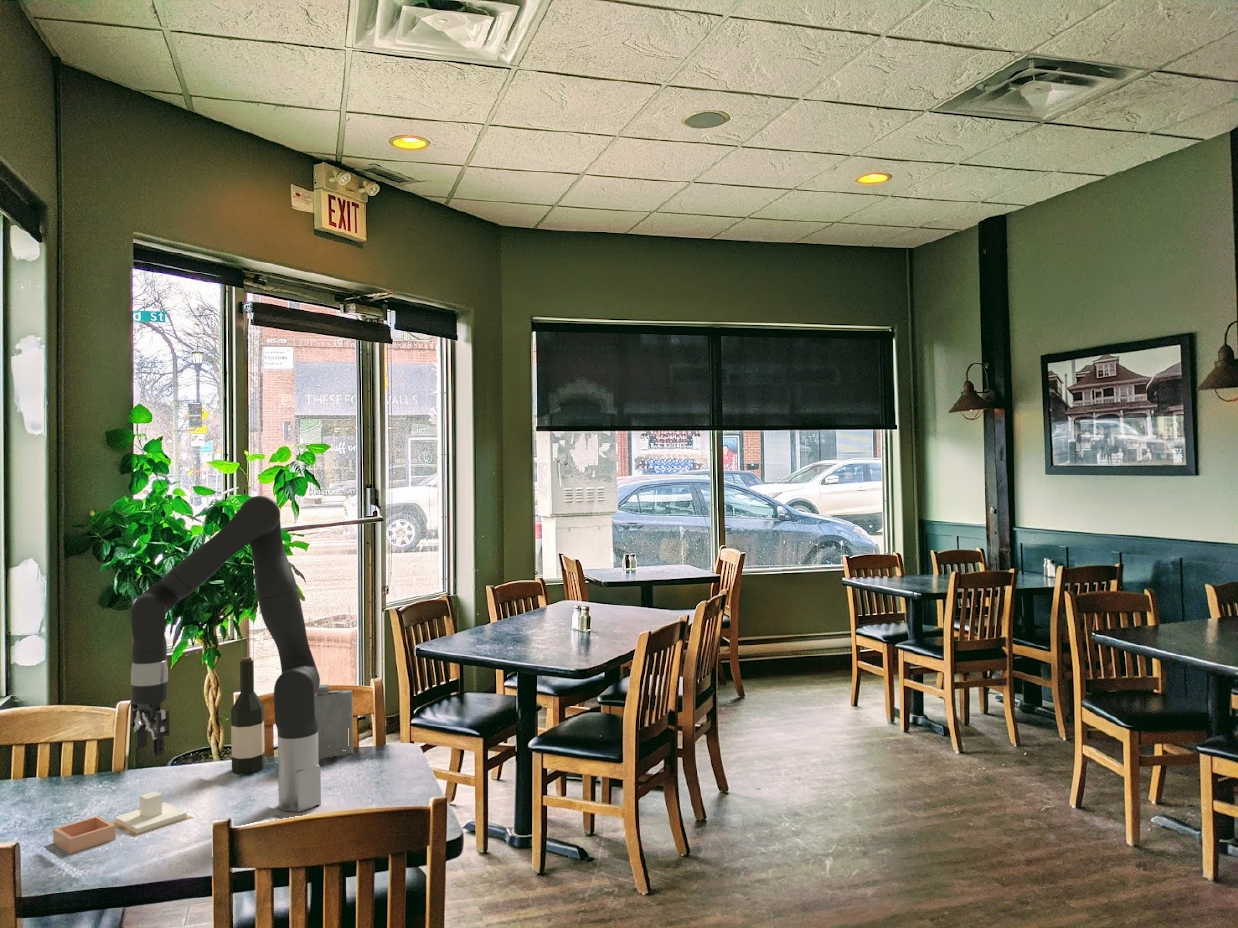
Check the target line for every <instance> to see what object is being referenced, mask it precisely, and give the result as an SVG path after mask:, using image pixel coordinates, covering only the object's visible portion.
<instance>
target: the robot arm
mask: <svg viewBox="0 0 1238 928" xmlns="http://www.w3.org/2000/svg"><path fill="white" fill-rule="evenodd" d="M248 544H249V547H250V550H251V554H252V558H253V573H254V582H255V585H254V586H255V590H256V591H255V592H256V597H257V601H258V606H259V610H260V614H261V617H262V620H263V622H264V625H265V627H266V628H267V631H268V633H269V634H270V636H271V638H272V639H273V642H274V643H275V645H276V647H277V651H278V656H279V662H280V668H281V674H280V675H279V676H278V677H277V679H276V681H275V684H274V688H273V706H274V707H273V709H274V710H273V711H274V723H275V727H276V729H277V731H276V732H277V779H278V780H277V781H278V783H277V787H278V788H277V791H278V809H280V810H281V811H285V812H297V813H300V812H303V811H306V810H308V809H312V808H315V807H317V806H316V805H318V806H320V805H322V789H321V788H322V786H321V785H322V783H321V781H322V780H321V765H320V764H319V762H320V760H319V758H318V720H317V719H316V717H315V704H314V695H315V694H317V691H318V689H319V685H321V683H320V682H321V677H320V673H319V671H318V668H317V665H316V662H315V659H314V656H313V654H312V650H311V649H310V645H309V641H308V640H309V639H308V636H307V629H306V622H305V618H304V617H305V616H304V614H303V607H302V602H301V598H300V595H299V590H298V584H297V582H296V579H295V576H294V572H293V570H292V567H291V564H290V561H289V559H288V555H287V554H286V551H285V547H284V542H283V534H282V525H281V510H280V507H279V505H278V504H277V502H276V501H275V500H273V499H272V498H270V497H269V496H265V495H256V496H252V497H250V498H248V499H246V500H245V501H244V502H243V503H242V505H241V507H240V509H238V511H237V512H236V513H235V514H234V515H233V517H232V518H231V519H230V520H229V521H228V522H227V524H226V525H224V526H223V527H222V528H221V529H220V530H219V531H218V532H217V533H216V534H215V535H214V536H212V537H211V538H210V539H208V540H207V541H206V542H204V543H203V544H202V545H201V546H199V547H198V548H196V549H195V550H194V551H192V552H191V553H190V554H189V555H187V556H186V557H185V558H184V559H183V560H181V561H180V562H179V563H178V564H177V565H176V566H174V567H173V568H172V569H170V571H169V572H167V573H166V575H164V577H163V578H162V579H160V580H159V581H157V582H156V583H154V584H153V585H152V586H150V587H148V589H147V590H145V591H144V592H142V593H141V594H140V595H138V597H137V598H136V599H135V601H134V602H133V604H132V606H131V610H130V621H131V623H130V624H131V632H132V646H131V647H132V648H131V650H132V651H131V652H132V655H131V656H132V657H131V659H132V660H131V669H130V702H131V703H130V728H131V729H133V731H134V733H135V748H137V749H138V750H139V749H142V748H146V747H147V746H148V732H150V734H151V738H152V755H153V756H155V757H157V756H162V755H164V753H165V738H166V737H169V736H170V710H169V709H167V708H166V709H162V703H163V702H165V701H166V700H168V698H169V669H168V658H167V656H168V654H167V653H168V652H167V651H168V647H167V646H168V644H167V637H166V616H167V613H168V612H169V611H170V610H171V609H172V608H173V607H175V606H176V605H177V604H178V603H180V602H181V601H182V599H185V598H186V597H189V596H190V595H192V594H193V592H195V591H197V589H199V587H201V586H202V585H203V584H204V583H205V582H207V581H208V580H209V579H210V578H211V577H212V576H213V575H214V574H216V572H217V571H219V570H220V568H221V567H222V566H224V564H225V563H227V562H228V561H229V559H231V558H232V557H233V556H234V555H235V554H237V552H239V551H241V549H243V548H245V546H247V545H248ZM319 804H320V805H319ZM314 806H315V807H314Z"/></svg>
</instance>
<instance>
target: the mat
mask: <svg viewBox="0 0 1238 928" xmlns="http://www.w3.org/2000/svg"><path fill="white" fill-rule="evenodd" d="M193 818H194V817H193V816H191V815H189V814H187V818H185V819H182V820H179V821H176V822H173V823H169V824H166V825H163V826H160V827H157V828H154V829H151V830H148V831H145V832H142V833H138V834H136V833H134V832H132V831H131V830H129V829H127V828H125V827H123V826H121V825H120V824H118V823H116V822H115V820H112V821H109V822H110V823H112V824H114V825H115V828H116V829H117V828H118V829H119V830H121V831H123V832H124V833H126V834H128V835H130V836H131V837H134V838H135V837H139V836H142V835H144V834H147V833H150V832H154V831H157V830H159V829H164V828H166V827H169V826H173V825H176V824H178V823H181V822H184V821H185V822H186V821H187V820H190V819H193Z"/></svg>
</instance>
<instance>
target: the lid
mask: <svg viewBox="0 0 1238 928" xmlns="http://www.w3.org/2000/svg"><path fill="white" fill-rule="evenodd" d="M187 815H188V814H187V812H186V811H184V810H182V809H179V808H178V807H176V806H174V805H172V804H169V803H167V802H166V801H164V802H163V794H161V793H160V792H158V791H151V792H148V793H144V794H141V795H139V809H137V810H133V811H130V812H126V813H124V814H120V815H117V816H114V818H115V819H114V821H115V822H116V823H118V824H120V825H121V826H123V827H125V828H127V829H129V830H131V831H132V832H134V833H136V834H138V833H142V832H145V831H148V830H151V829H154V828H157V827H160V826H163V825H166V824H169V823H173V822H176V821H179V820H182V819H185V818H187Z"/></svg>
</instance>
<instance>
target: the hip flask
mask: <svg viewBox="0 0 1238 928" xmlns="http://www.w3.org/2000/svg"><path fill="white" fill-rule="evenodd" d="M330 688H331V686H330V684H320V685H319V689H318V691H317V693H316V694H315V695H314V704H315V717H316V719H317V720H318V758H319V761H321V760H323V759H324V758H325V759H328V758H327V757H330V756H336V757H339V756H338V755H342V756H348V755H347V754H349V755H351V754H350V753H352V754H353V753H354V717H353V716H354V715H353V713H354V711H353V709H354V708H353V706H354V705H353V703H354V702H353V690H351V689H345V690H339V689H338V690H330ZM348 728H349V746H348ZM328 746H329V747H328ZM342 750H346V751H342ZM330 758H331V757H330Z"/></svg>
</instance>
